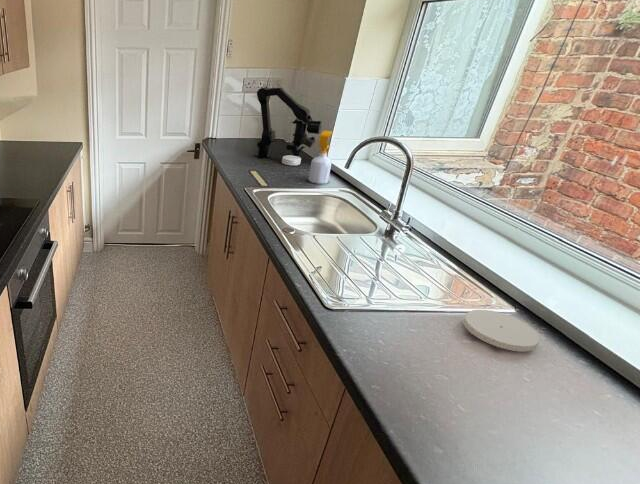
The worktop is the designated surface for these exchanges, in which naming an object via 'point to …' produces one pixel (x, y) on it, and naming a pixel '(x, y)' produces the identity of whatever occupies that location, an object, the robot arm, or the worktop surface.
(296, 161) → the white round container
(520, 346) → the plastic lid
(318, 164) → the soap bottle
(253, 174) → the strip
